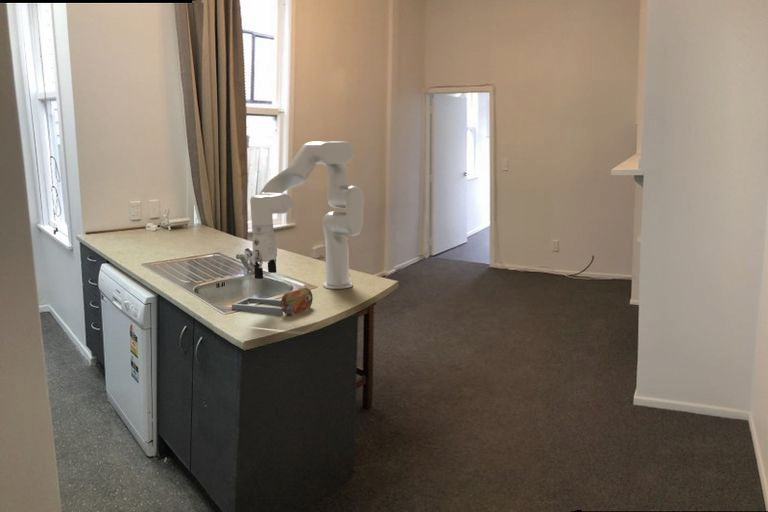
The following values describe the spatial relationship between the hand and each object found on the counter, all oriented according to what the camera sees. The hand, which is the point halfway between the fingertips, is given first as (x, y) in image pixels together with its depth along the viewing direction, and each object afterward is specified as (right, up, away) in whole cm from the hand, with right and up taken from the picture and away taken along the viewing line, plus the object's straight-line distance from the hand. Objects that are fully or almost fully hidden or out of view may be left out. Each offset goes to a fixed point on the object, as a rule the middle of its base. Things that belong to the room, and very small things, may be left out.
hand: (265, 275), depth 215 cm
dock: (0, -13, +2) cm, 13 cm away
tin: (+12, -13, -2) cm, 18 cm away
